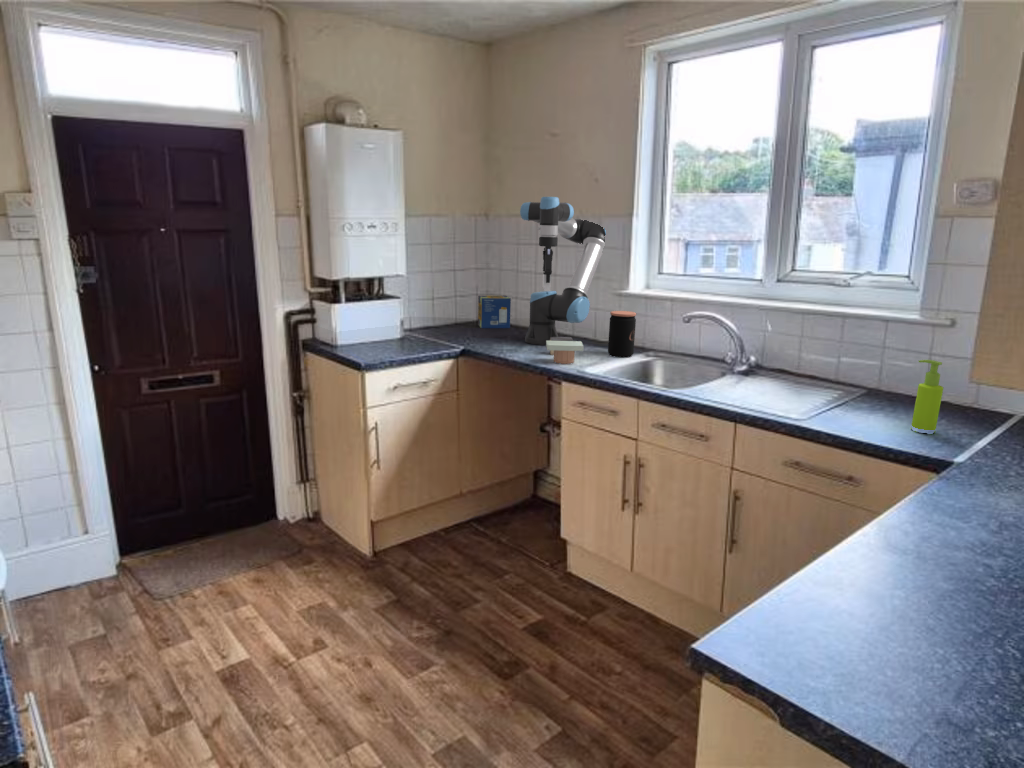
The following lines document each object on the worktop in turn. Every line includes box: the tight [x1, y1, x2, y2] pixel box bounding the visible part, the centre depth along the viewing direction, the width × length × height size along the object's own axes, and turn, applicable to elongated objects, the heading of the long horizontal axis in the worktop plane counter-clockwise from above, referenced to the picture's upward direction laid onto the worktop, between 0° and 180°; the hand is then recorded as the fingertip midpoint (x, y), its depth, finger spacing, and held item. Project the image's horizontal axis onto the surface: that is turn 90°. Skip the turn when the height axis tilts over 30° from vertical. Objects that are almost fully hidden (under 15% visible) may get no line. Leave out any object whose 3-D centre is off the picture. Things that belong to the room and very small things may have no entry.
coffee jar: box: [607, 310, 637, 358], centre depth 279 cm, size 11×11×18 cm
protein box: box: [477, 295, 512, 329], centre depth 344 cm, size 10×15×16 cm
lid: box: [545, 340, 584, 352], centre depth 264 cm, size 10×14×2 cm
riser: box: [549, 336, 574, 356], centre depth 280 cm, size 6×9×6 cm, turn 90°
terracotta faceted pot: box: [553, 350, 576, 365], centre depth 265 cm, size 8×8×6 cm
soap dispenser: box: [911, 359, 944, 430], centre depth 185 cm, size 6×7×20 cm
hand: (546, 289), depth 276 cm, fingers open, 13 cm apart
